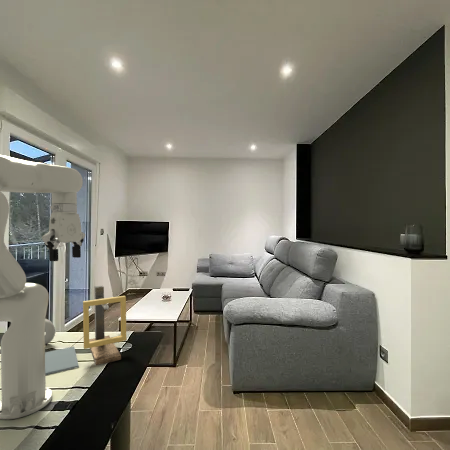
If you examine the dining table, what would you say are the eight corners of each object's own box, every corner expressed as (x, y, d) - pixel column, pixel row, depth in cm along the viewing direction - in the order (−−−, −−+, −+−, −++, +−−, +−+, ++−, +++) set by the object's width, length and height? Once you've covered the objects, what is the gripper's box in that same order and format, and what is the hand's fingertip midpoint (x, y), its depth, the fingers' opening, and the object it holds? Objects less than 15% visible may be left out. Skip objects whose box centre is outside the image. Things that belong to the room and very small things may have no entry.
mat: (78, 367, 97) (78, 365, 97) (35, 377, 91) (35, 375, 91) (74, 348, 112) (74, 346, 112) (36, 355, 106) (36, 354, 106)
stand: (120, 359, 102) (119, 294, 102) (95, 365, 98) (94, 297, 98) (109, 339, 121) (108, 284, 121) (87, 343, 117) (87, 286, 117)
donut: (57, 343, 117) (57, 318, 117) (50, 347, 114) (50, 321, 114) (37, 341, 120) (36, 316, 120) (29, 344, 116) (29, 319, 116)
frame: (126, 340, 108) (125, 296, 108) (84, 349, 100) (83, 302, 100) (125, 338, 109) (124, 295, 109) (83, 347, 102) (83, 301, 102)
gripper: (51, 208, 92) (53, 263, 92) (91, 210, 109) (92, 256, 109) (33, 208, 94) (34, 262, 94) (75, 210, 111) (76, 256, 111)
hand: (65, 259), depth 102 cm, fingers open, 9 cm apart
